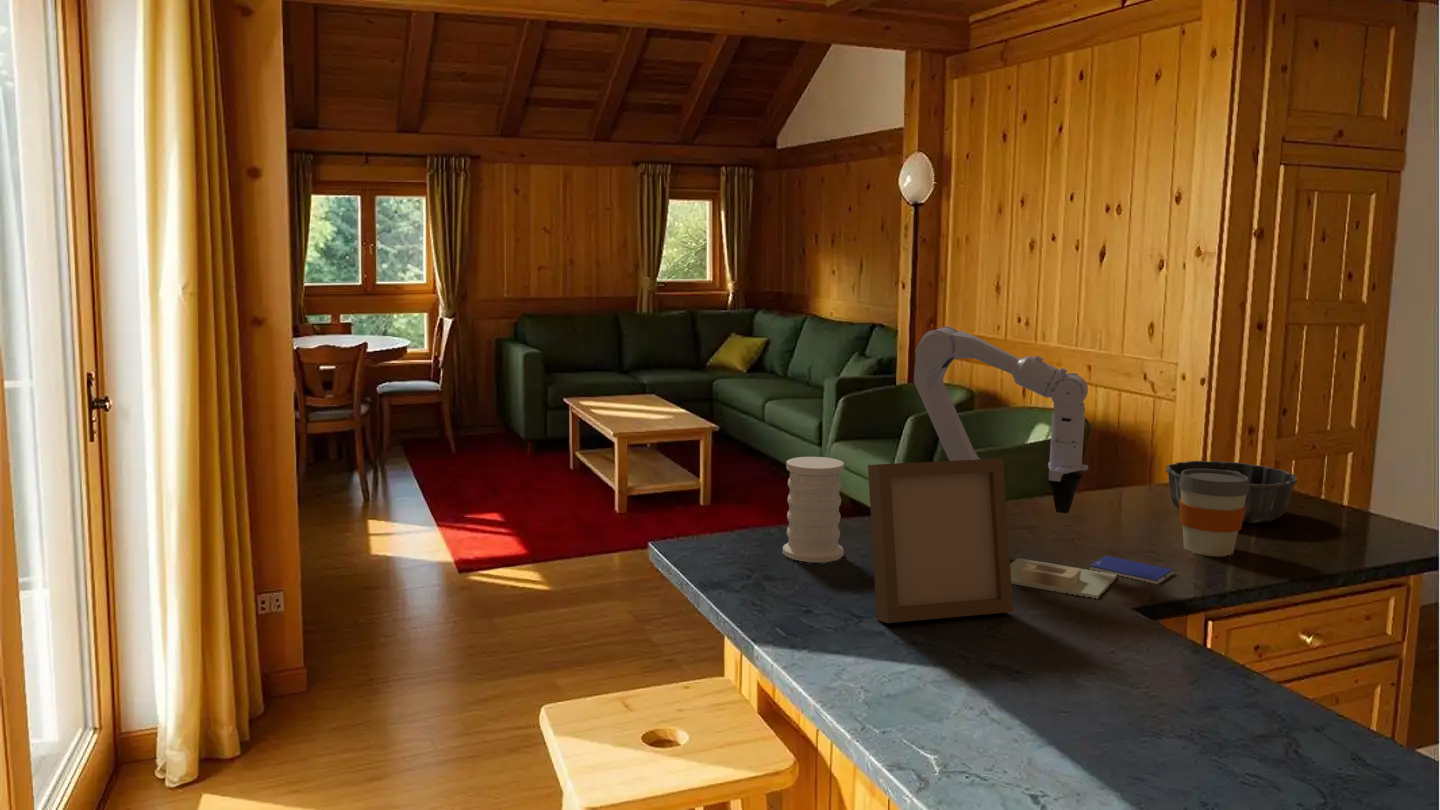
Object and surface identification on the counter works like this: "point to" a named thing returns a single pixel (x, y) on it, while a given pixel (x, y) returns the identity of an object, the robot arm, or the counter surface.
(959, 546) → the photo frame
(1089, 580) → the mat
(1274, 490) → the bundt pan
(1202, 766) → the counter surface
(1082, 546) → the counter surface
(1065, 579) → the oak tile
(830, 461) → the decorative container
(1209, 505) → the reusable coffee cup
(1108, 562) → the hard drive
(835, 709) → the counter surface
